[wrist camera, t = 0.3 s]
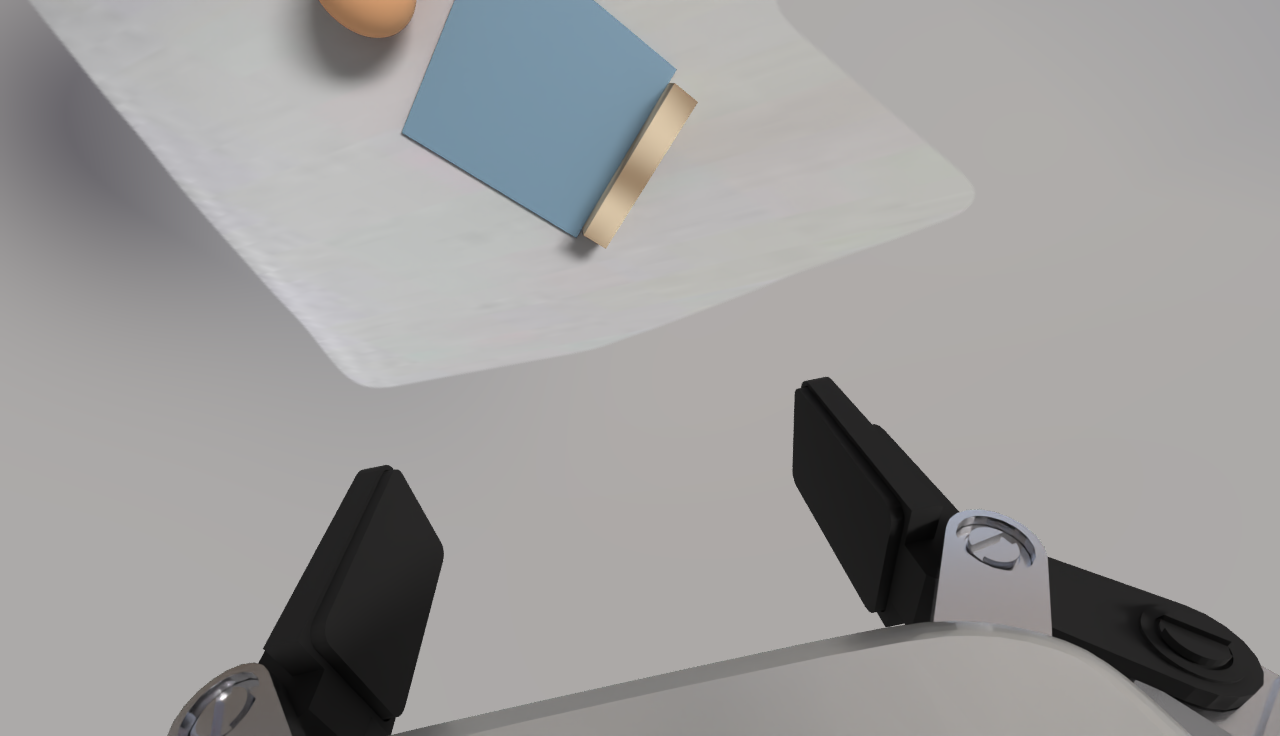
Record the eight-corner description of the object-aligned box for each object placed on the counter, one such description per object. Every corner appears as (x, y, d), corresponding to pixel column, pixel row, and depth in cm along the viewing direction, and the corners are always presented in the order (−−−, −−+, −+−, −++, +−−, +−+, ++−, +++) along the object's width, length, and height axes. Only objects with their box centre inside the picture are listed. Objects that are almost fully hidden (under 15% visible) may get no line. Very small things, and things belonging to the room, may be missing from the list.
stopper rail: (667, 83, 34) (674, 83, 32) (689, 100, 35) (697, 102, 33) (582, 226, 38) (583, 235, 36) (603, 239, 39) (605, 248, 37)
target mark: (490, -86, 28) (489, -87, 28) (676, 69, 34) (676, 69, 34) (402, 132, 33) (401, 132, 33) (576, 237, 39) (576, 238, 39)
